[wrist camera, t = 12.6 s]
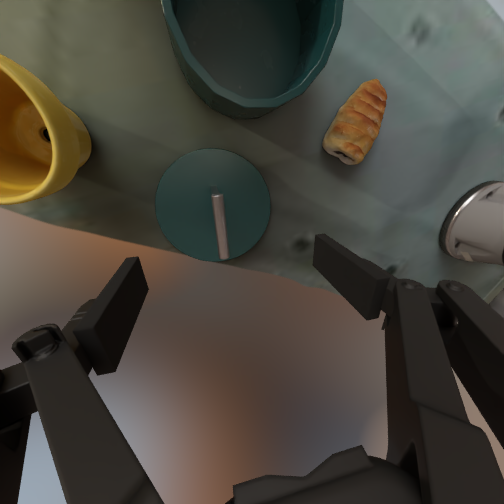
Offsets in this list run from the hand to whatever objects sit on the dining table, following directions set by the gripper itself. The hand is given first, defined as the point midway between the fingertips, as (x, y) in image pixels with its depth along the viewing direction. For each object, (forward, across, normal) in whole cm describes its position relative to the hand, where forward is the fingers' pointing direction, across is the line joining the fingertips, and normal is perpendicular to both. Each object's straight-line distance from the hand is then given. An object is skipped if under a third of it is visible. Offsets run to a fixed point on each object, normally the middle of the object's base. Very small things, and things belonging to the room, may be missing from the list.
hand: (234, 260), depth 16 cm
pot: (+16, -4, -18) cm, 24 cm away
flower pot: (+16, +17, -10) cm, 25 cm away
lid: (+15, +1, 0) cm, 15 cm away
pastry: (+16, -19, -10) cm, 26 cm away
